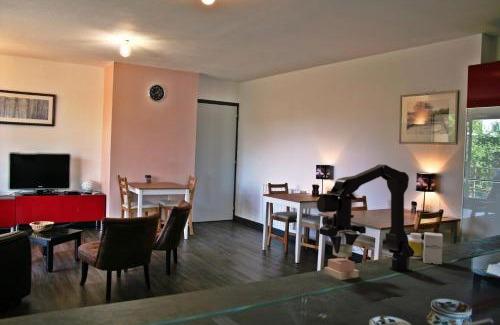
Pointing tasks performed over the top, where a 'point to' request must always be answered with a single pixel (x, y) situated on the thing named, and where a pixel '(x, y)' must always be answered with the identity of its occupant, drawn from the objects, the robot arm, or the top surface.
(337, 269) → the terracotta block
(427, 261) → the supplement box
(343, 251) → the sage block
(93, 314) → the top surface
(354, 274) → the birch block
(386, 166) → the robot arm
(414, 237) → the pill bottle
